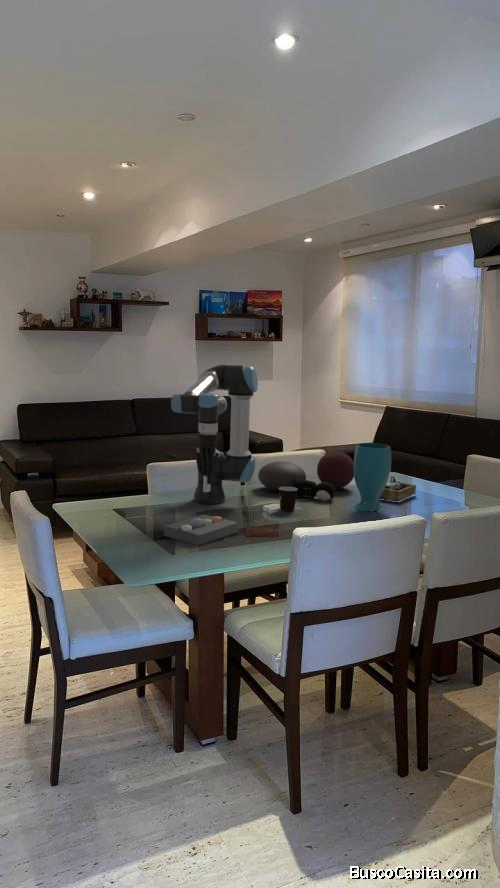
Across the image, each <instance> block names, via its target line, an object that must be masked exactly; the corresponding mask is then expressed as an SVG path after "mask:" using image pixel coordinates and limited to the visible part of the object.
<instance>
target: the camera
mask: <svg viewBox="0 0 500 888" xmlns="http://www.w3.org/2000/svg"><path fill="white" fill-rule="evenodd" d="M395 477H396V475H394V474H393V475H392V476H390V480H389V481H390V482H389V481H388V482H387V484H386V486H385V488H384V489H390V490H396V491H399V490H401V483H402V482H401V481H397V480H396V478H395Z"/></svg>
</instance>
